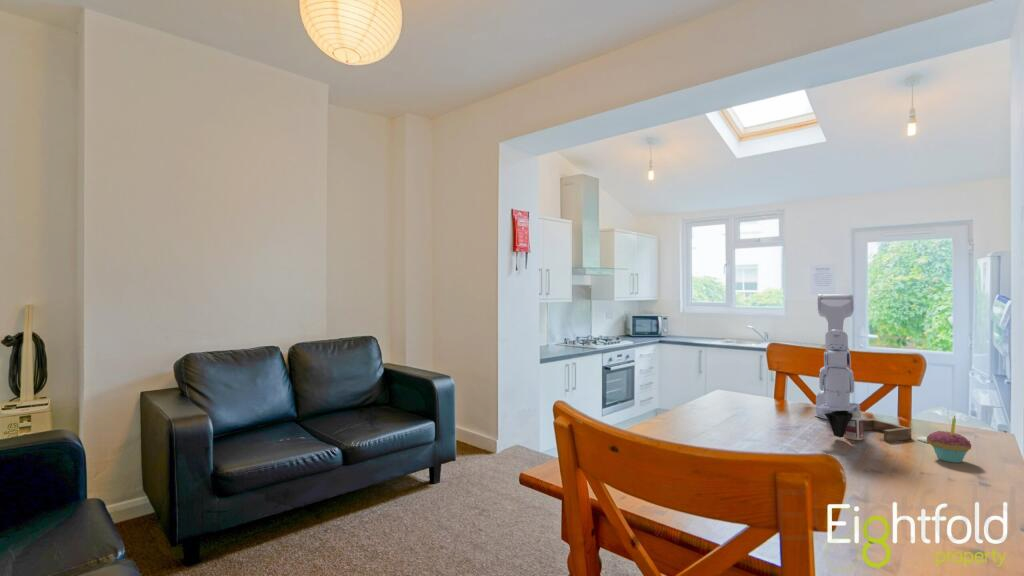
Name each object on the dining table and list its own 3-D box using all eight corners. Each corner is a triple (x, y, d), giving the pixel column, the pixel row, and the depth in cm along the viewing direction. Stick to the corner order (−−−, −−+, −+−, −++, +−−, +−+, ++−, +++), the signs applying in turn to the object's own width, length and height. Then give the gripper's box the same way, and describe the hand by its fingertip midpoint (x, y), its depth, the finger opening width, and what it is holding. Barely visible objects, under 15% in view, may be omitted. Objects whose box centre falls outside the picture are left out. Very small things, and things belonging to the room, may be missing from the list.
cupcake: (981, 465, 118) (980, 417, 118) (947, 465, 119) (946, 418, 119) (950, 453, 127) (949, 409, 127) (918, 453, 127) (917, 409, 127)
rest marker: (911, 438, 140) (911, 437, 140) (926, 437, 141) (926, 436, 141) (934, 445, 134) (934, 444, 134) (949, 443, 135) (949, 442, 135)
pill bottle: (857, 435, 144) (856, 408, 144) (867, 440, 139) (866, 412, 139) (840, 435, 144) (839, 408, 144) (850, 440, 139) (849, 412, 139)
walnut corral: (850, 430, 148) (850, 421, 149) (872, 428, 151) (872, 418, 151) (888, 441, 138) (887, 431, 138) (911, 438, 140) (911, 428, 140)
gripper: (831, 395, 134) (831, 442, 134) (869, 391, 138) (870, 437, 138) (809, 390, 141) (810, 435, 141) (846, 387, 145) (847, 431, 145)
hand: (838, 436), depth 140 cm, fingers closed
